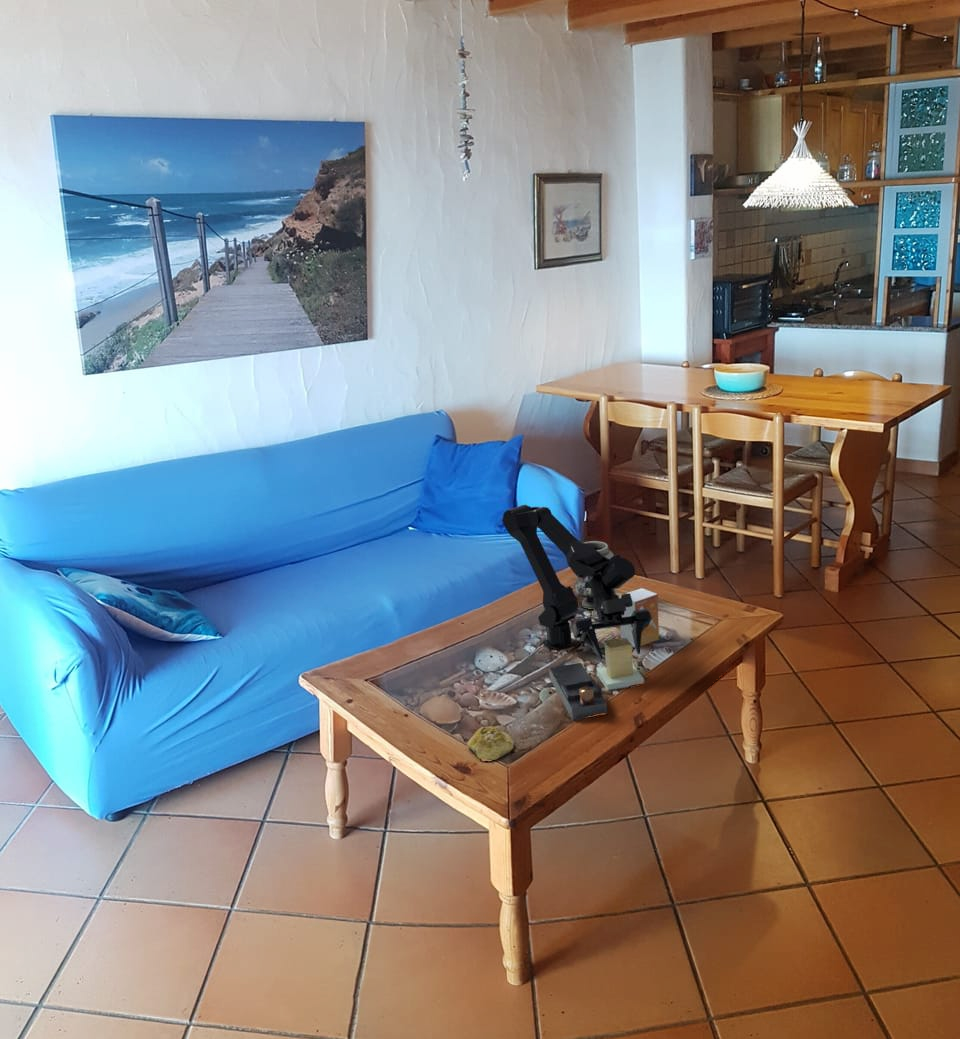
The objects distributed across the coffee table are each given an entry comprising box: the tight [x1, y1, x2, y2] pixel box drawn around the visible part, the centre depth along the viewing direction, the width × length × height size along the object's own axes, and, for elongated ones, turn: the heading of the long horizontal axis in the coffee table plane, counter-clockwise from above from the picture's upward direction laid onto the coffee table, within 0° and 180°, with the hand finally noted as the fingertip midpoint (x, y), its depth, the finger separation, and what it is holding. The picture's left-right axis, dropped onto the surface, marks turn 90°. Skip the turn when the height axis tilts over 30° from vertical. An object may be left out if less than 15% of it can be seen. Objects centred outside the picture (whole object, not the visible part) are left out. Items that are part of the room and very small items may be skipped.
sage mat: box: [596, 664, 645, 691], centre depth 232 cm, size 9×9×2 cm
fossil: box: [466, 725, 515, 761], centre depth 207 cm, size 11×6×10 cm
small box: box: [618, 587, 660, 648], centre depth 251 cm, size 8×6×13 cm
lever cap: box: [603, 637, 634, 679], centre depth 231 cm, size 5×6×8 cm
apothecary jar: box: [573, 540, 615, 609], centre depth 277 cm, size 12×12×18 cm
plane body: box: [548, 662, 608, 721], centre depth 225 cm, size 22×8×6 cm, turn 9°
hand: (620, 656), depth 229 cm, fingers open, 9 cm apart
